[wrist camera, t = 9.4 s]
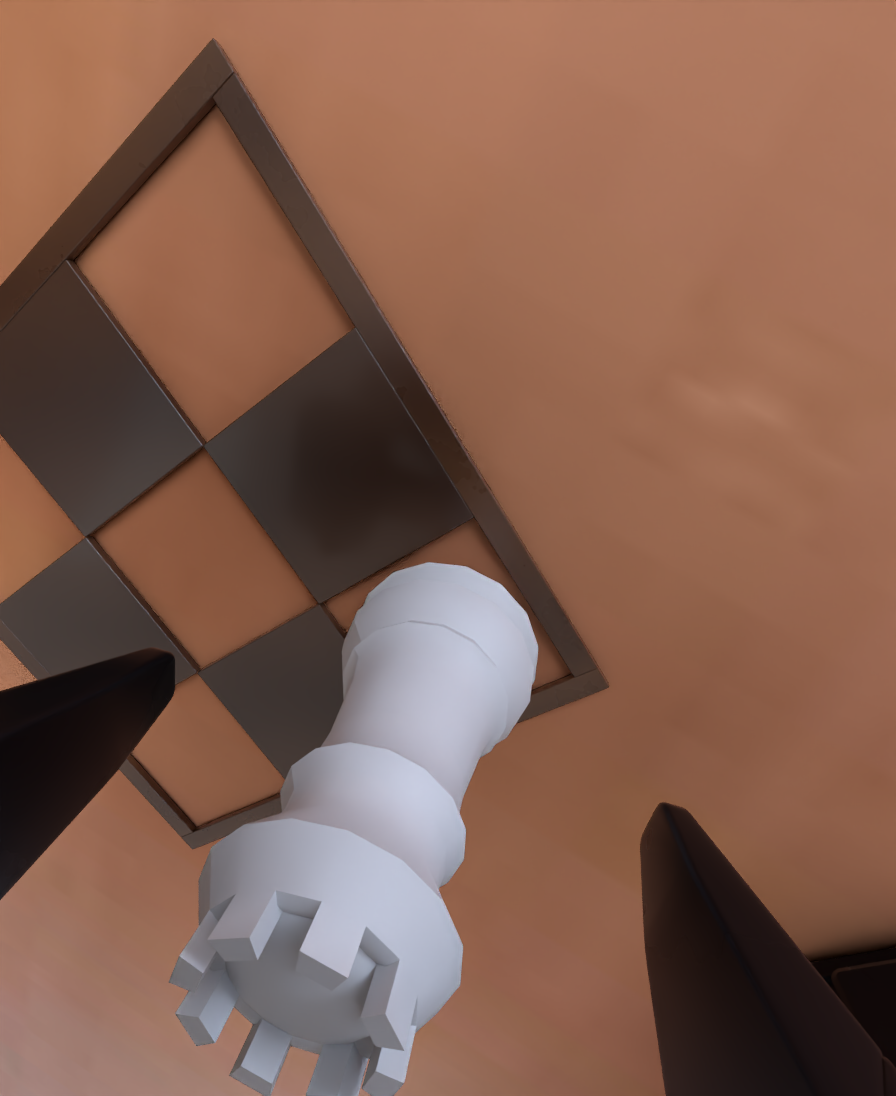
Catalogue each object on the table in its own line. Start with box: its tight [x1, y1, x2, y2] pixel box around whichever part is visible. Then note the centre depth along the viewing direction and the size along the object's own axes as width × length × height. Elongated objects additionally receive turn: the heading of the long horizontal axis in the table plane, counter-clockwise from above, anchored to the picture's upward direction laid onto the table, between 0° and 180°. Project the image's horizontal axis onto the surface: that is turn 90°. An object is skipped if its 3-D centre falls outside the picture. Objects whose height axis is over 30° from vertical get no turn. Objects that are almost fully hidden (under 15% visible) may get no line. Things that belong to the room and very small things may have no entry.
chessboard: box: [0, 38, 609, 849], centre depth 13 cm, size 15×15×1 cm
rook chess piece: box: [169, 562, 538, 1096], centre depth 9 cm, size 4×4×8 cm
